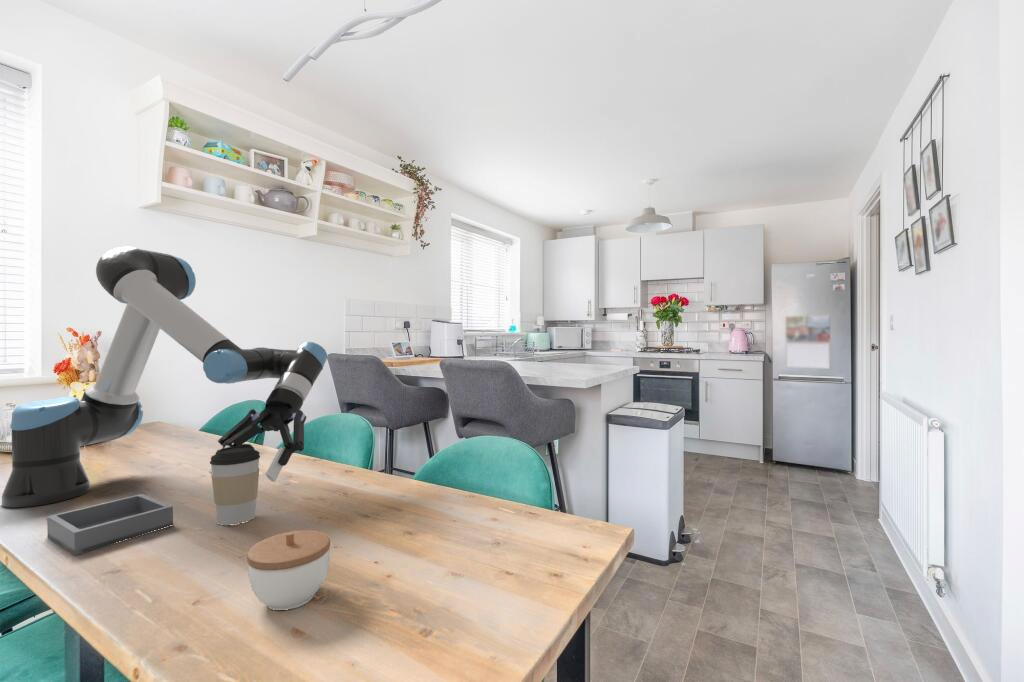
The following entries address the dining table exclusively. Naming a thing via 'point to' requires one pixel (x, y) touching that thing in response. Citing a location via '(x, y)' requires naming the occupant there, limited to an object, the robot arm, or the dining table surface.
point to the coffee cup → (235, 483)
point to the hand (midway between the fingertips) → (241, 477)
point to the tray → (108, 523)
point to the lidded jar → (288, 568)
